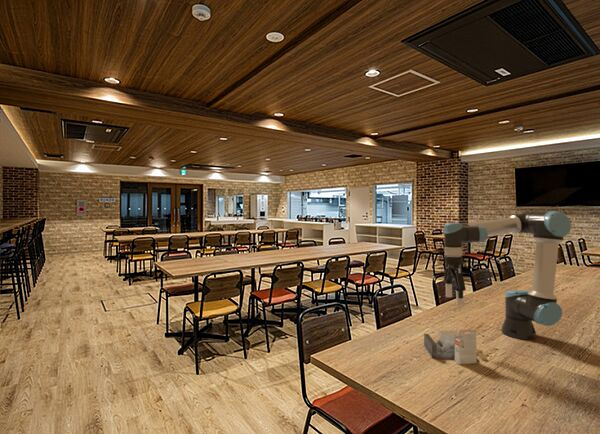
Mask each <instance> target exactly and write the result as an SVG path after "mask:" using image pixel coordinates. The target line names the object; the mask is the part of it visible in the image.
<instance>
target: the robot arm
mask: <svg viewBox="0 0 600 434" xmlns="http://www.w3.org/2000/svg"><path fill="white" fill-rule="evenodd" d="M443 229H444V230H443V235H444V248H443V252H444V255H445V256H444V264H445V271H444V276H443V281H444V283H445V298H453V281H454V283H455V286H456V287H455V288H456V289H455V291H456V292H455V294H456V295H455V296H456V306H464V302H465V301H464V291H466V290H467V289H466V284H465V279H464V275H463V268H460V266H462V265H463V253H464V252H463V244H464V243H465V244H466V243H484V242H486V241H487V239H488V237H489V236H493V235H494V236H495V235H501V234H508V233H512V234H515V235H516V234H528V235H529V234H531V235H533V236H532V238H533V239H534V241H535V242H536V243H535V253H534V263H533V273H532V284H531V290H527V289H526V290H525V289H509V290H506V292H505V297H504V299H505V300H504V301H505V306H504V307H505V318H504V320H503V324H502V326H501V333H502V334H504V335H505V336H507V337H511V338H513V339H519V340H535V339H536V338H537V332H536V329H535V326H534V323H536V324H539V325H542V326H546V327H551V326H554V325H556V324H557V323H559V322H560V320H561V319H562V317H563V308H562V307H561V306H560V304H559V303H557V302H558V297H557V296H556V295H555V294H554V293H555V292H554V291H555V283H556V275H557V274H556V271H557V264H558V263H557V262H558V255H559V254H558V253H559V244H561V242H563V241H564V237H566V236H568V235H569V233H570V232H571V230H572V223H571V219H570V218H569V217H568V216H567V214H565V213H563V212H561V211H554V210H552V211H551V210H547V211H545V210H544V211H543V210H541V211H539V210H537V211H536V210H535V211H527V212H523V213H518V214H512V215H509V216H508V217H504V218H499V219H498V218H497V219H492V220H484V221H483V220H482V221H476V222H471V223H464V224H463V223H461V222H446V223H445V224H444V227H443ZM533 322H534V323H533Z"/></svg>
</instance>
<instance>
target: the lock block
mask: <svg viewBox="0 0 600 434" xmlns="http://www.w3.org/2000/svg"><path fill="white" fill-rule="evenodd" d="M455 339H460V335H459V332H458V331H457V330H438V340H437V342H438V344H439V346H440V348H441V349H442V350H443V351H455Z"/></svg>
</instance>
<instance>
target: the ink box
mask: <svg viewBox="0 0 600 434" xmlns="http://www.w3.org/2000/svg"><path fill="white" fill-rule="evenodd" d="M467 332H469V333H467ZM458 333H459V335H460V339H455V359H454V362H456V363H457V364H458V365H472V364H477V355H476V350H477V329H464V330H459V332H458Z"/></svg>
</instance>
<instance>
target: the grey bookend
mask: <svg viewBox="0 0 600 434" xmlns="http://www.w3.org/2000/svg"><path fill="white" fill-rule="evenodd" d="M423 347H424V348H425V349H426V352H427V353H428V354H429V356H430V357H431V358H432V359H442V360H443V359H449V360H455V351H443V350H442V349H441V348H440V346H439V344H438V341H437V342H435V340H434V339H433V338H432V337H431V335H430V334H429V333H423Z"/></svg>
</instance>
